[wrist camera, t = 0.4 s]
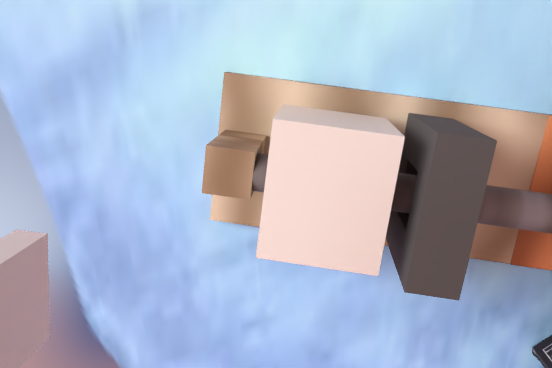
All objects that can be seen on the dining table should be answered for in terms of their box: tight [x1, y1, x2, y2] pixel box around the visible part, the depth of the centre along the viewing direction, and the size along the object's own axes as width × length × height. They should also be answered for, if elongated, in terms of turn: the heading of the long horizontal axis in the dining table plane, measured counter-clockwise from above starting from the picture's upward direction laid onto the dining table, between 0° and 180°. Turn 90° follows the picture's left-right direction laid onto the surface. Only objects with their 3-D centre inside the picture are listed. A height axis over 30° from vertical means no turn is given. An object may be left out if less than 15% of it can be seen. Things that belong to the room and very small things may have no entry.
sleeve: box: [256, 104, 405, 276], centre depth 32 cm, size 7×8×8 cm
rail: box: [202, 72, 552, 270], centre depth 34 cm, size 30×11×8 cm, turn 83°
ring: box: [386, 113, 497, 300], centre depth 32 cm, size 3×9×9 cm, turn 173°
